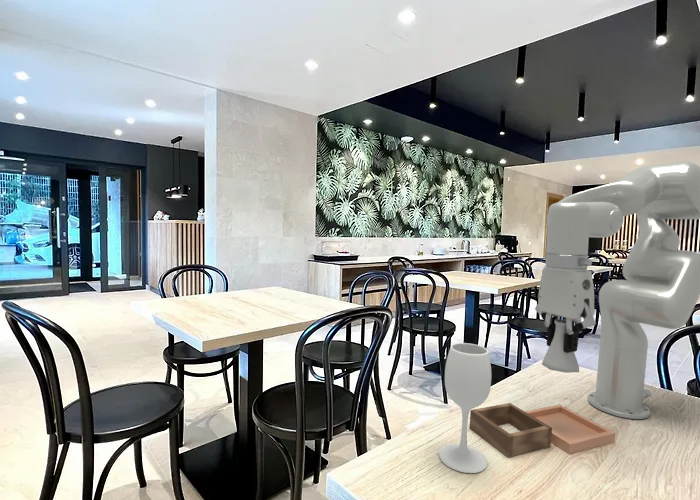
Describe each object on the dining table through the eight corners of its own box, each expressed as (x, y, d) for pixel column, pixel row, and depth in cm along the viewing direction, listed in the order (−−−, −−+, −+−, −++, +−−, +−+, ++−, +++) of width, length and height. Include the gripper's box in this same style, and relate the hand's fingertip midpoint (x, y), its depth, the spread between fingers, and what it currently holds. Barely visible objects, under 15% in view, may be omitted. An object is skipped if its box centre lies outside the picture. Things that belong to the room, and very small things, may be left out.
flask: (585, 375, 77) (588, 327, 76) (546, 372, 79) (549, 324, 78) (572, 362, 84) (575, 317, 83) (537, 359, 86) (539, 315, 85)
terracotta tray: (559, 412, 91) (559, 404, 91) (614, 442, 79) (615, 432, 79) (517, 421, 86) (518, 412, 86) (569, 454, 74) (570, 444, 74)
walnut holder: (508, 420, 87) (510, 402, 86) (550, 447, 76) (552, 427, 76) (469, 428, 82) (470, 410, 82) (507, 457, 72) (509, 437, 72)
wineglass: (429, 450, 74) (435, 343, 72) (466, 442, 77) (472, 339, 76) (458, 478, 66) (465, 358, 64) (497, 468, 69) (505, 354, 68)
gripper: (618, 266, 73) (612, 359, 75) (546, 257, 88) (542, 335, 90) (590, 268, 70) (585, 365, 72) (521, 258, 86) (517, 338, 87)
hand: (561, 347), depth 81 cm, fingers closed on flask, 3 cm apart
